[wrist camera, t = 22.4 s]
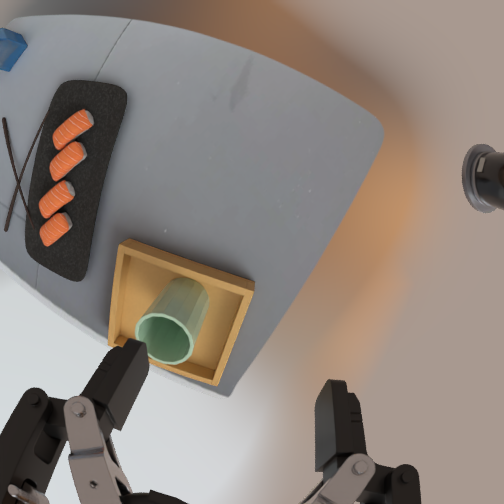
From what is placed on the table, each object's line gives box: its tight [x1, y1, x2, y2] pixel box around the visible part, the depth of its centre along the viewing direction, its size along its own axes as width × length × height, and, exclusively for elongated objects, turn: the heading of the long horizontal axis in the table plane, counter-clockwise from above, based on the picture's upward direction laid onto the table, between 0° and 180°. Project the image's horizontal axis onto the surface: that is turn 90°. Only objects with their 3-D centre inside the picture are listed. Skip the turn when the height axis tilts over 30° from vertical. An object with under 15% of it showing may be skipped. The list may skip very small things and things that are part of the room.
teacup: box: [135, 277, 209, 365], centre depth 32 cm, size 7×7×10 cm
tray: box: [108, 238, 255, 386], centre depth 37 cm, size 18×17×3 cm
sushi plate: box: [2, 80, 127, 282], centre depth 31 cm, size 29×30×4 cm
